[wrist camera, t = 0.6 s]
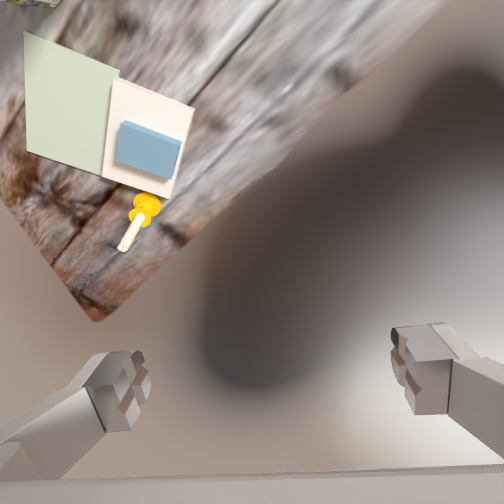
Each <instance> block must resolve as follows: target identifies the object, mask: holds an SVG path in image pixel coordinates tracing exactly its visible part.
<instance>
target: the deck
mask: <svg viewBox="0 0 504 504" xmlns="http://www.w3.org/2000/svg"><path fill="white" fill-rule="evenodd" d="M194 111H195V109H194V108H192V107H189V106H187V105H185V104H182V103H180V102H177V101H175V100H172V99H170V98H168V97H165V96H163V95H160V94H158V93H156V92H153V91H151V90H148V89H146V88H143V87H141V86H139V85H136V84H134V83H131V82H129V81H126V80H124V79H122V78H116V79H113V86H112V94H111V103H110V111H109V120H108V128H107V137H106V145H105V154H104V163H103V171H102V177H105V178H108V179H111V180H114V181H117V182H120V183H123V184H126V185H129V186H132V187H135V188H138V189H141V190H144V191H147V192H150V193H153V194H156V195H159V196H161V197H164V198H167V199H170V198H171V195H172V193H173V189H174V186H175V182H176V178H177V174H178V171H179V167H180V163H181V159H182V156H183V152H184V148H185V144H186V141H187V137H188V133H189V129H190V126H191V122H192V118H193V115H194ZM125 120H127V121H130V122H132V123H135V124H138V125H140V126H143V127H146V128H148V129H151V130H153V131H156V132H159V133H161V134H164V135H166V136H169V137H172V138H174V139H177V140H179V141H182V143H181V147H180V150H179V154H178V158H177V162H176V166H175V170H174V174H173V176H172V178H171V180H170V179H167V178H164V177H162V176H159V175H156V174H153V173H150V172H147V171H144V170H141V169H139V168H136V167H133V166H130V165H127V164H124V163H121V162H119V161H116V160H115V159H116V152H117V145H118V138H119V131H120V124H121V123H122V122H124V121H125Z"/></svg>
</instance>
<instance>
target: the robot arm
mask: <svg viewBox="0 0 504 504" xmlns="http://www.w3.org/2000/svg"><path fill="white" fill-rule="evenodd" d="M391 340H392V342H393V344H394V346H395V347H394V348H393V349H392V351H391V362H392V367H393V371H394V374H395V377H396V379H397V381H398V383H399V384H400V385H402V386H403V387H405V397H406V399H407V401H408V403H409V405H410V407H411V409H412V411H413V412H414V414H415V415H435V414H448V416H449V417H451V418H452V419H453V420H454V421H456V422H457V423H458V424H460V425H461V426H462V427H463V428H465V429H466V430H467V431H468V432H470V433H471V434H472V435H474V436H475V437H476V438H478V439H479V440H480V441H481V442H483V443H484V444H485V445H487V446H488V447H489V448H490V449H492V450H493V451H494V452H496V453H497V454H498V455H500V456H501V457H502V458H503V459H504V365H503V364H501V363H498V362H496V361H494V360H491V359H489V358H487V357H482V358H480V357H479V356H478V354H477V353H476V352H475V351H474V350H473V349H472V348H471V347H470V346H469V345H468V344H467V343H466V342H465V341H464V340H463V339H462V338H461V337H460V336H459V335H458V333H457V332H456V331H455V330H454V329H453V328H452V327H451V326H450V325H449V324H448V323H445V322H440V323H433V324H426V325H418V326H407V327H396V328H392V330H391ZM144 361H145V360H144V357H143V354H142V352H140V351H138V350H133V351H119V352H105V353H97V354H95V355H93V356H92V357H91V359H90V360H89V361H88V362H87V363H86V364H85V366H84V367H83V368H82V369H81V370H80V371H79V373H78V374H77V375H76V376H75V377H74V379H73V380H72V381H71V382H70V383H69V384H68V386H67V387H66V388H65V389H60V390H58V391H56V392H55V393H53V394H52V395H50V396H48V397H47V398H45V399H44V400H42V401H40V402H39V403H37V404H35V405H34V406H32V407H30V408H29V409H27V410H25V411H24V412H22V413H21V414H19V415H17V416H16V417H14V418H12V419H11V420H9V421H7V422H6V423H4V424H3V425H1V426H0V504H504V464H495V465H494V464H493V465H465V466H440V467H439V466H437V467H411V468H380V469H350V470H320V471H290V472H262V473H233V474H206V475H176V476H149V477H119V478H91V479H62V480H59V479H60V478H61V477H62V476H63V475H64V474H65V473H66V472H67V471H68V470H69V469H70V468H71V467H72V466H73V465H74V464H75V463H77V462H78V460H80V459H81V458H82V456H84V455H85V454H86V453H87V452H88V451H89V450H90V449H91V448H92V447H93V446H94V445H95V444H96V443H97V442H98V441H99V440H100V439H101V438H102V437H103V436H104V435H105V433H109V432H120V431H131V430H132V428H133V426H134V424H135V422H136V420H137V418H138V416H139V414H140V409H139V406H140V405H141V404H143V403H144V402H145V401H146V400H147V398H148V396H149V393H150V388H151V377H150V374H149V371H148V370H147V369H146V368H145V367H143V366H142V365H143V363H144Z"/></svg>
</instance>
